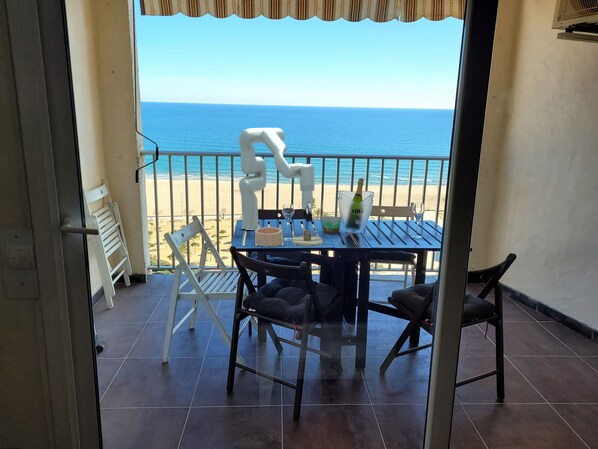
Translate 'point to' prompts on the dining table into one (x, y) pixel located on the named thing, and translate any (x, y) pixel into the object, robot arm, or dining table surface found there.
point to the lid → (307, 239)
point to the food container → (331, 224)
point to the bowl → (268, 236)
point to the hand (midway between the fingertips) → (308, 219)
